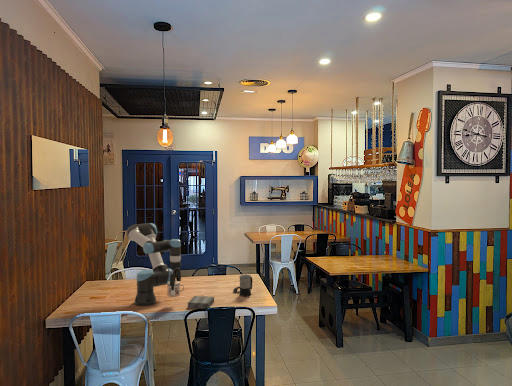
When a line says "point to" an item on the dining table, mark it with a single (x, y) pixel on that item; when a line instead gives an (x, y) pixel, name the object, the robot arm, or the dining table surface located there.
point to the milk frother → (244, 285)
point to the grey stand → (200, 302)
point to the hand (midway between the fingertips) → (175, 292)
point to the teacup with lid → (177, 289)
